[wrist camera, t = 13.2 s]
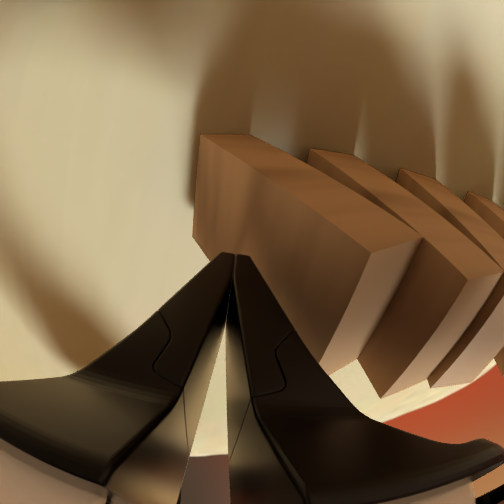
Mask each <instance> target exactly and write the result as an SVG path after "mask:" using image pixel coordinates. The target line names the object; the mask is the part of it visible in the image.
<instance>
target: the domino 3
mask: <svg viewBox="0 0 504 504" xmlns="http://www.w3.org/2000/svg"><path fill="white" fill-rule="evenodd" d="M396 183H397V184H399V185H400V186H402V187H403V188H404V189H406V190H407V191H409V192H410V193H411V194H413V195H414V196H416V197H417V198H418V199H420V200H421V201H422V202H424V203H425V204H426V205H428V206H429V207H430V208H432V209H433V210H434V211H436V212H437V213H438V214H439V215H441V216H442V217H443V218H444V219H446V220H447V221H448V222H449V223H451V224H452V225H453V226H454V227H456V228H457V229H458V230H459V231H460V232H462V233H463V234H464V235H465V236H466V237H467V238H469V239H470V240H471V241H472V242H473V243H474V244H475V245H477V246H478V247H479V248H480V249H481V250H482V251H483V252H484V253H486V254H487V255H488V256H489V257H490V258H491V259H492V260H493V261H494V262H495V263H496V264H497V265H498V266H499V267H500V268H501V269H503V270H504V239H503V238H502V237H501V236H500V235H499V234H498V233H497V232H496V231H495V230H494V229H493V228H492V227H490V226H489V225H488V224H487V223H486V222H485V221H484V220H483V219H482V218H481V217H480V216H479V215H478V214H477V213H475V212H474V211H473V210H472V209H471V208H470V207H469V206H468V205H466V204H465V203H464V202H463V201H462V200H461V199H459V198H458V197H457V196H456V195H455V194H453V193H452V192H451V191H450V190H449V189H447V188H446V187H445V186H444V185H442V184H441V183H440V182H439V181H437V180H436V179H433V178H430V177H427V176H424V175H421V174H418V173H415V172H412V171H408V170H405V169H402V168H400V170H399V173H398V177H397V180H396ZM503 346H504V274H503V276H502V278H501V280H500V281H499V283H498V285H497V286H496V288H495V290H494V291H493V293H492V294H491V296H490V297H489V299H488V301H487V302H486V304H485V305H484V307H483V308H482V310H481V311H480V313H479V314H478V316H477V317H476V318H475V320H474V321H473V323H472V324H471V325H470V327H469V328H468V330H467V331H466V332H465V334H464V335H463V336H462V338H461V339H460V340H459V341H458V343H457V344H456V345H455V347H454V348H453V349H452V350H451V352H450V353H449V354H448V355H447V356H446V358H445V359H444V360H443V361H442V362H441V364H440V365H439V366H438V367H437V368H436V369H435V371H434V372H433V373H432V374H431V375H430V376H429V377H428V379H427V380H428V383H429V385H430V388H436V387H444V386H452V385H458V384H465V383H471V382H472V381H473V380H474V379H475V378H476V377H477V376H478V375H479V374H480V373H481V372H482V371H483V369H484V368H485V367H486V366H487V365H488V364H489V363H490V362H491V360H492V359H493V358H494V357H495V356H496V355H497V353H498V352H499V351H500V350H501V349H502V347H503Z"/></svg>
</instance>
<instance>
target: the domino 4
mask: <svg viewBox="0 0 504 504" xmlns="http://www.w3.org/2000/svg"><path fill="white" fill-rule="evenodd" d="M464 203H465V204H466V205H468V206H469V207H470V208H471V209H472V210H473V211H474V212H475V213H477V214H478V215H479V216H480V217H481V218H482V219H483V220H484V221H485V222H486V223H487V224H488V225H489V226H490V227H492V228H493V229H494V230H495V231H496V232H497V233H498V234H499V235H500V236H501V237H502V238H503V239H504V210H503V209H501V208H500V207H499V206H498V205H497V204H495V203H494V202H493V201H491V200H489V199H487V198H484V197H482V196H479V195H477V194H474V193H472V192H469V191H468V193H467V195H466V198H465V200H464ZM494 359H495V361H496V363H497V365H498V367H499V369H500V371H501V374H502V376H503V377H504V346H503V347H502V349H501V350H500V351H499V352H498V353H497V355H496V356H495V357H494Z"/></svg>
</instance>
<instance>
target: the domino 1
mask: <svg viewBox="0 0 504 504" xmlns="http://www.w3.org/2000/svg"><path fill="white" fill-rule="evenodd" d="M192 237H193V238H194V239H195V241H196V242H197V244H198V245H199V246H200V248H201V249H202V251H203V252H204V254H205V255H206V256H207V258H208V259H209V261H212V260H213V259H214V258H215V257H216V256H217V255H218V254H219V253H220V252H228V253H234V254H235V255H236V254H242V255H249V256H250V257H251V259H252V260H253V262H254V263H255V265H256V267H257V268H258V270H259V272H260V273H261V275H262V276H263V278H264V280H265V281H266V283H267V285H268V286H269V288H270V289H271V291H272V293H273V294H274V296H275V297H276V299H277V301H278V302H279V304H280V306H281V307H282V309H283V310H284V312H285V314H286V315H287V317H288V318H289V320H290V322H291V323H292V325H293V326H294V328H295V330H296V331H297V333H298V334H299V336H300V338H301V339H302V341H303V342H304V344H305V345H306V347H307V348H308V350H309V351H310V353H311V354H312V355H313V357H314V358H315V359H316V361H317V362H318V363H319V364H320V366H321V367H322V368H323V370H324V371H325V372H326V373H327V374H328V375H330V374H332V373H334V372H335V371H337V370H339V369H341V368H342V367H344V366H346V365H347V364H349V363H351V362H352V361H354V360H356V359H357V358H358V357H359V355H360V354H361V352H362V350H363V349H364V347H365V346H366V344H367V342H368V341H369V339H370V338H371V336H372V334H373V333H374V331H375V329H376V328H377V326H378V324H379V322H380V321H381V319H382V317H383V316H384V314H385V312H386V310H387V308H388V307H389V305H390V303H391V301H392V299H393V297H394V296H395V294H396V292H397V290H398V288H399V286H400V284H401V282H402V280H403V278H404V276H405V274H406V272H407V270H408V268H409V266H410V264H411V262H412V260H413V258H414V256H415V254H416V252H417V250H418V247H419V245H420V243H421V241H422V239H423V236H422V235H420V234H419V233H417V232H416V231H415V230H413V229H412V228H410V227H409V226H407V225H406V224H404V223H403V222H401V221H400V220H398V219H397V218H395V217H394V216H392V215H391V214H389V213H388V212H386V211H385V210H383V209H382V208H380V207H379V206H377V205H376V204H374V203H372V202H371V201H369V200H368V199H366V198H364V197H363V196H361V195H360V194H358V193H356V192H355V191H353V190H351V189H350V188H348V187H346V186H345V185H343V184H341V183H340V182H338V181H336V180H335V179H333V178H331V177H329V176H328V175H326V174H324V173H322V172H321V171H319V170H317V169H315V168H313V167H312V166H310V165H308V164H306V163H304V162H303V161H301V160H299V159H297V158H295V157H293V156H291V155H289V154H288V153H286V152H284V151H282V150H280V149H278V148H276V147H274V146H272V145H270V144H268V143H266V142H264V141H262V140H260V139H258V138H256V137H254V136H252V135H244V134H200V144H199V154H198V165H197V177H196V189H195V203H194V217H193V234H192ZM234 261H235V260H234ZM233 268H234V267H233ZM232 275H233V274H232ZM231 282H232V281H231ZM230 290H231V289H230Z"/></svg>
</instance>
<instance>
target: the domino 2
mask: <svg viewBox="0 0 504 504" xmlns="http://www.w3.org/2000/svg"><path fill="white" fill-rule="evenodd" d="M307 164H308V165H310V166H312V167H313V168H315V169H317V170H319V171H321V172H322V173H324V174H326V175H328V176H329V177H331V178H333V179H335V180H336V181H338V182H340V183H341V184H343V185H345V186H346V187H348V188H350V189H351V190H353V191H355V192H356V193H358V194H360V195H361V196H363V197H364V198H366V199H368V200H369V201H371V202H372V203H374V204H376V205H377V206H379V207H380V208H382V209H383V210H385V211H386V212H388V213H389V214H391V215H392V216H394V217H395V218H397V219H398V220H400V221H401V222H403V223H404V224H406V225H407V226H409V227H410V228H412V229H413V230H415V231H416V232H417V233H419V234H420V235H422V236H423V239H422V241H421V243H420V245H419V247H418V250H417V252H416V254H415V256H414V258H413V260H412V262H411V264H410V266H409V268H408V270H407V272H406V274H405V276H404V278H403V280H402V282H401V284H400V286H399V288H398V290H397V292H396V294H395V296H394V297H393V299H392V301H391V303H390V305H389V307H388V308H387V310H386V312H385V314H384V316H383V317H382V319H381V321H380V322H379V324H378V326H377V328H376V329H375V331H374V333H373V334H372V336H371V338H370V339H369V341H368V342H367V344H366V346H365V347H364V349H363V350H362V352H361V354H360V355H359V357H358V358H357V359H358V361H359V363H360V364H361V366H362V368H363V369H364V371H365V373H366V375H367V376H368V378H369V380H370V382H371V383H372V385H373V387H374V389H375V390H376V392H377V394H378V396H379V397H380V399H382V398H384V397H387V396H389V395H392V394H394V393H397V392H399V391H401V390H404V389H406V388H408V387H411V386H413V385H415V384H417V383H420V382H422V381H424V380H426V379H428V377H429V376H430V375H431V374H432V373H433V372H434V371H435V369H436V368H437V367H438V366H439V365H440V364H441V362H442V361H443V360H444V359H445V358H446V356H447V355H448V354H449V353H450V352H451V350H452V349H453V348H454V347H455V345H456V344H457V343H458V341H459V340H460V339H461V338H462V336H463V335H464V334H465V332H466V331H467V330H468V328H469V327H470V325H471V324H472V323H473V321H474V320H475V318H476V317H477V316H478V314H479V313H480V311H481V310H482V308H483V307H484V305H485V304H486V302H487V301H488V299H489V297H490V296H491V294H492V293H493V291H494V290H495V288H496V286H497V285H498V283H499V281H500V280H501V278H502V276H503V274H504V270H503V269H501V268H500V267H499V266H498V265H497V264H496V263H495V262H494V261H493V260H492V259H491V258H490V257H489V256H488V255H487V254H486V253H484V252H483V251H482V250H481V249H480V248H479V247H478V246H477V245H475V244H474V243H473V242H472V241H471V240H470V239H469V238H467V237H466V236H465V235H464V234H463V233H462V232H460V231H459V230H458V229H457V228H456V227H454V226H453V225H452V224H451V223H449V222H448V221H447V220H446V219H444V218H443V217H442V216H441V215H439V214H438V213H437V212H436V211H434V210H433V209H432V208H430V207H429V206H428V205H426V204H425V203H424V202H422V201H421V200H420V199H418V198H417V197H416V196H414V195H413V194H411V193H410V192H409V191H407V190H406V189H404V188H403V187H402V186H400V185H399V184H397V183H396V182H394V181H393V180H391V179H390V178H388V177H387V176H386V175H384V174H383V173H381V172H379V171H378V170H376V169H375V168H373V167H372V166H370V165H369V164H367V163H366V162H364V161H362V160H361V159H359V158H358V157H356V156H354V155H349V154H343V153H337V152H330V151H324V150H317V149H310V152H309V156H308V160H307Z"/></svg>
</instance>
